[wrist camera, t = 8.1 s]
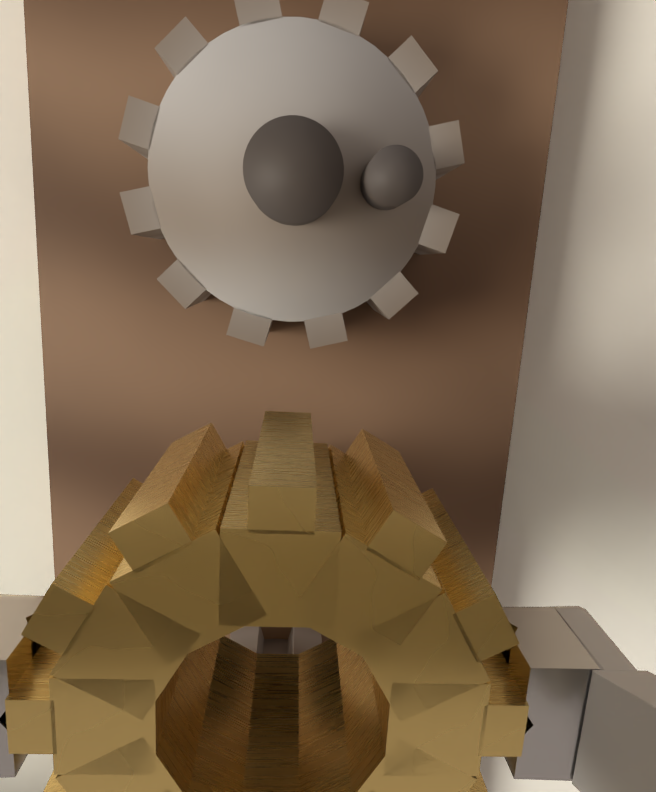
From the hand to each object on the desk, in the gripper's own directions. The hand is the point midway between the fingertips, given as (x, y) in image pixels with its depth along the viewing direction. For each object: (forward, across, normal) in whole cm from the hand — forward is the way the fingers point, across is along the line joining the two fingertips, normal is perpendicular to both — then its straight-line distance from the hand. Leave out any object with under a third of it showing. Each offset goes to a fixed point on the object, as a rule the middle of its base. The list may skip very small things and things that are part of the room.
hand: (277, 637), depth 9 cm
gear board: (+8, 0, 0) cm, 8 cm away
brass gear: (+2, 0, 0) cm, 2 cm away
